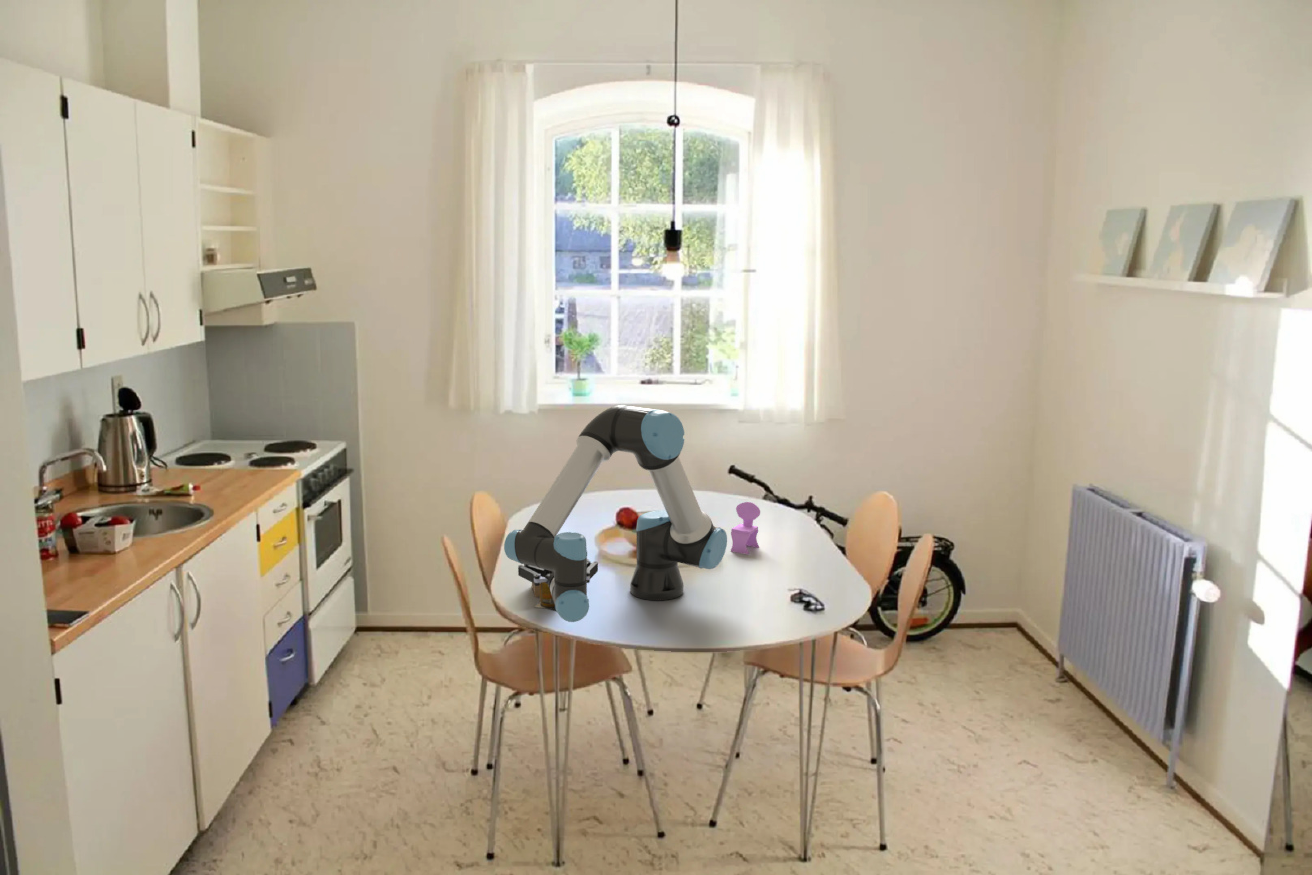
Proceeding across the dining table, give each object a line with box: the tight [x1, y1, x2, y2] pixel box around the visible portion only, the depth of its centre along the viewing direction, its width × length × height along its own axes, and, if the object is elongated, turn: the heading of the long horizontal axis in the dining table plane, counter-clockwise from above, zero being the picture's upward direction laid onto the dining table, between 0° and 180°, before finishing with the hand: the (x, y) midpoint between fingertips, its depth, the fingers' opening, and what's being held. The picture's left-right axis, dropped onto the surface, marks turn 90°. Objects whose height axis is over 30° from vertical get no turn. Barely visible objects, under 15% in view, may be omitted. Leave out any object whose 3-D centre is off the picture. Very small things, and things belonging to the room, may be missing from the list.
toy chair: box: [730, 501, 761, 555], centre depth 336 cm, size 8×9×15 cm
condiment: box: [534, 572, 556, 611], centre depth 288 cm, size 7×8×12 cm
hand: (554, 558), depth 276 cm, fingers open, 13 cm apart
